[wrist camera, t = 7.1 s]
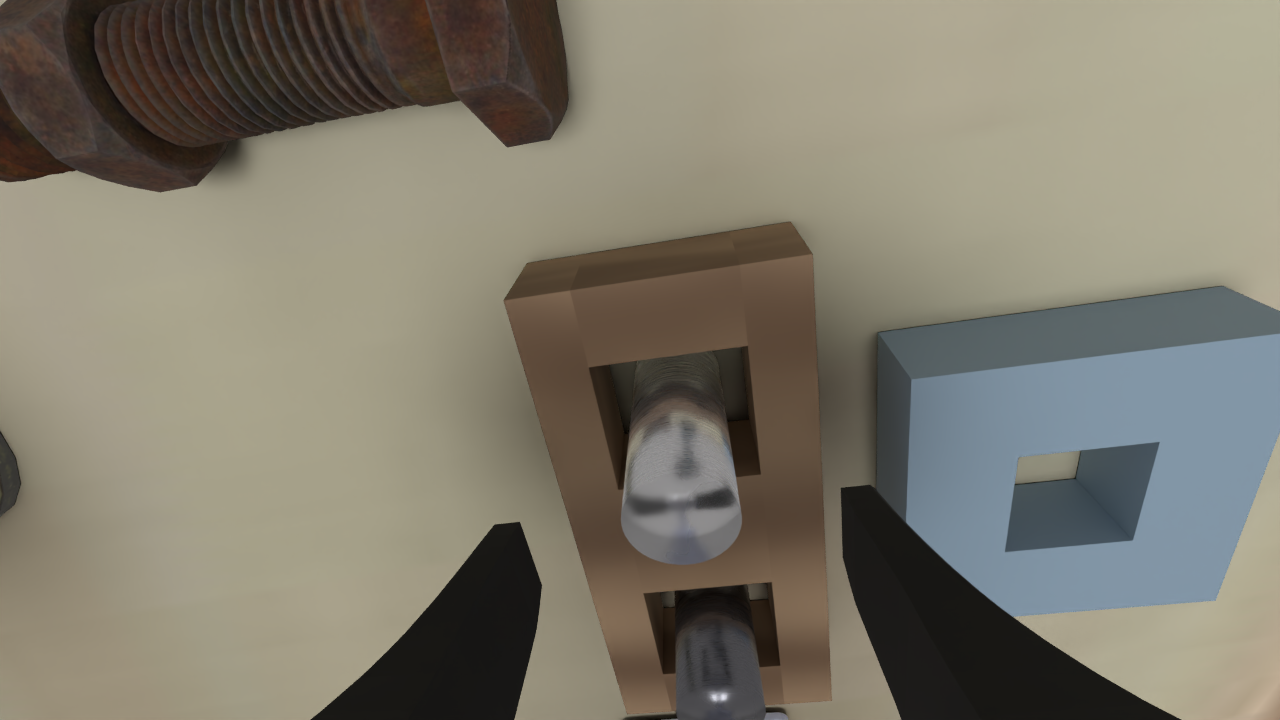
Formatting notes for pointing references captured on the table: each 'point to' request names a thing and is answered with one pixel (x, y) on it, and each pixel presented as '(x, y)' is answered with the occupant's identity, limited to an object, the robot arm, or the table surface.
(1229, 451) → the socket block
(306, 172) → the table surface
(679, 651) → the black pin
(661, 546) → the steel pin
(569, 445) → the rack
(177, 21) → the bolt
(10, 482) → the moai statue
